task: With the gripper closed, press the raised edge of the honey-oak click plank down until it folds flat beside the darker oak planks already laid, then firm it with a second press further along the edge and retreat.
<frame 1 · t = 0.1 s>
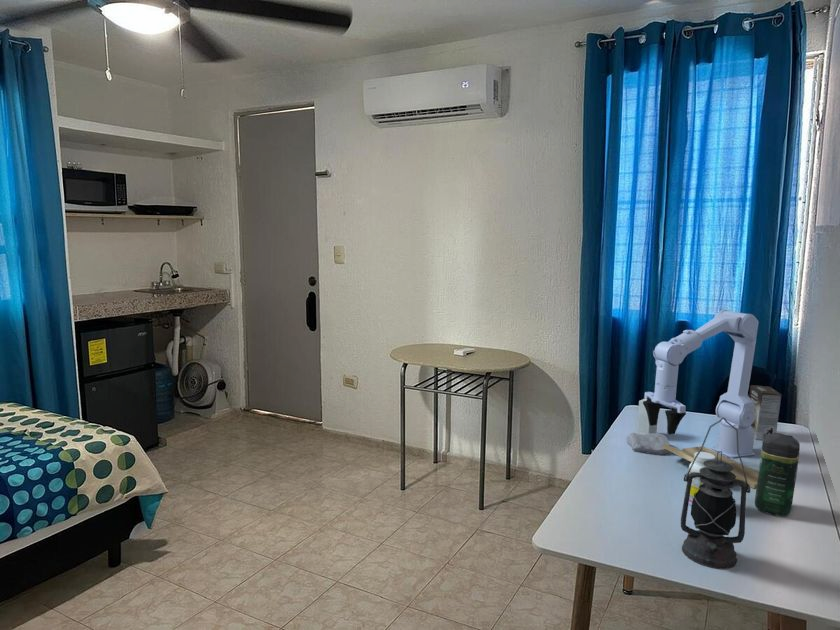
hand: (661, 429, 173), 10 cm above the table, tool pointing down, fingers open, 7 cm apart
click plank: (701, 463, 169), point 2 cm above the table, hinge at 22.0°
coffee box: (759, 436, 200), on the table
skincare box: (646, 436, 197), on the table
coffee jar: (772, 509, 148), on the table
laid floor row: (726, 467, 172), on the table
lantern: (708, 555, 126), on the table
stone block: (649, 450, 185), on the table
supplement bottle: (700, 504, 149), on the table
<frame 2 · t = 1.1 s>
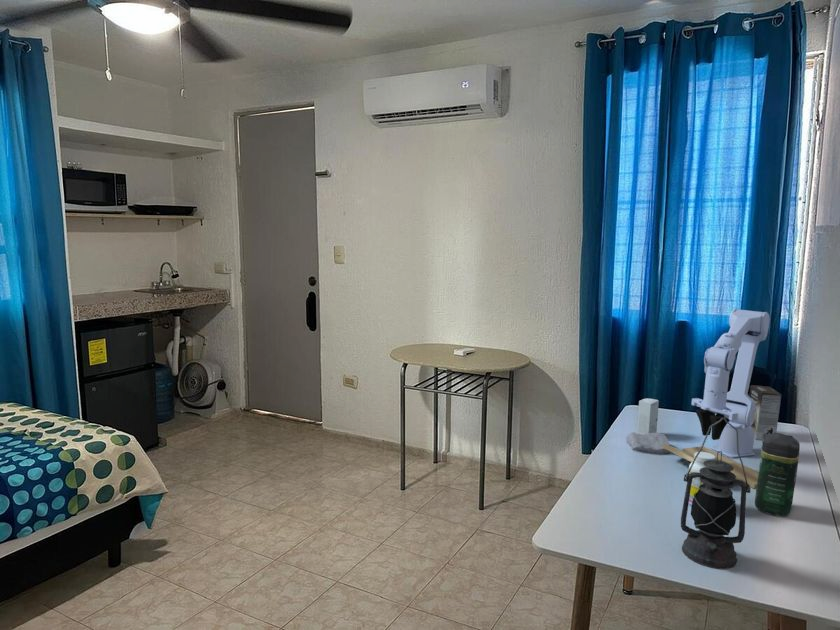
hand: (710, 437, 168), 10 cm above the table, tool pointing down, fingers open, 3 cm apart
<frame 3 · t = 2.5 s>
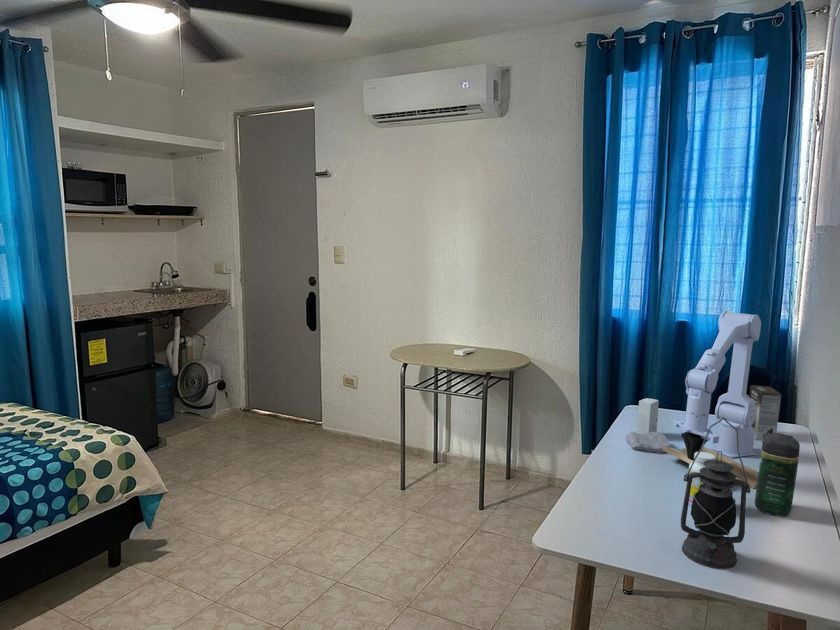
hand: (692, 459, 167), 4 cm above the table, tool pointing down, fingers closed, pressing on click plank
click plank: (700, 464, 169), point 2 cm above the table, hinge at 18.1°, touching gripper
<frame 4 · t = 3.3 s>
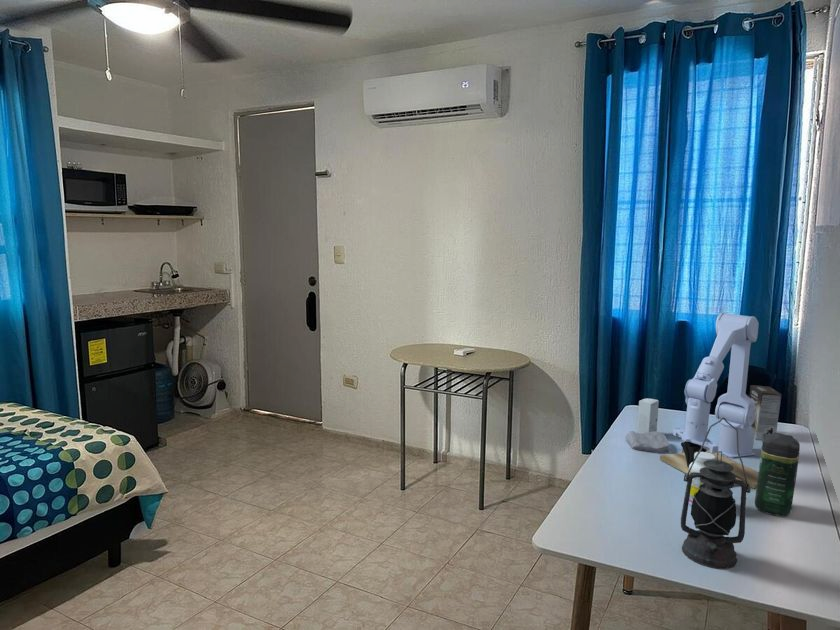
hand: (692, 468, 168), 1 cm above the table, tool pointing down, fingers closed, pressing on click plank
click plank: (699, 469, 169), point 1 cm above the table, hinge at 1.3°, touching gripper
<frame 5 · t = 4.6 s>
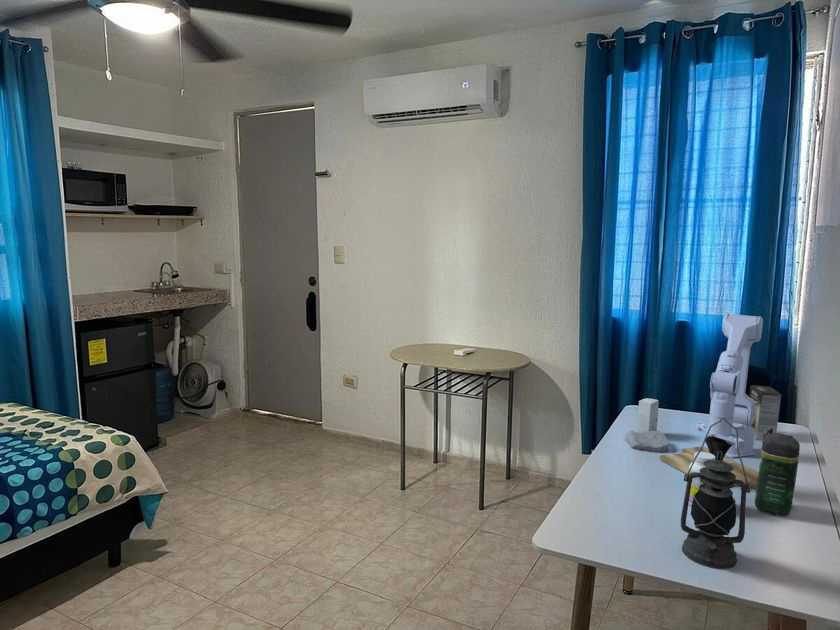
hand: (716, 464, 161), 5 cm above the table, tool pointing down, fingers closed
click plank: (699, 469, 169), point 1 cm above the table, hinge at 1.2°
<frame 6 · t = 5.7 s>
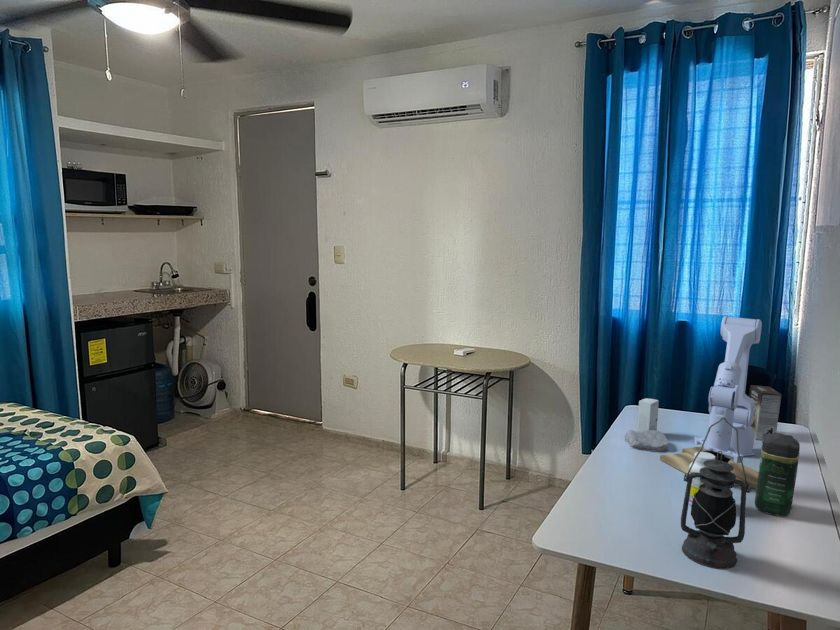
hand: (714, 478, 162), 1 cm above the table, tool pointing down, fingers closed, pressing on click plank
click plank: (699, 469, 169), point 1 cm above the table, hinge at 1.2°, touching gripper
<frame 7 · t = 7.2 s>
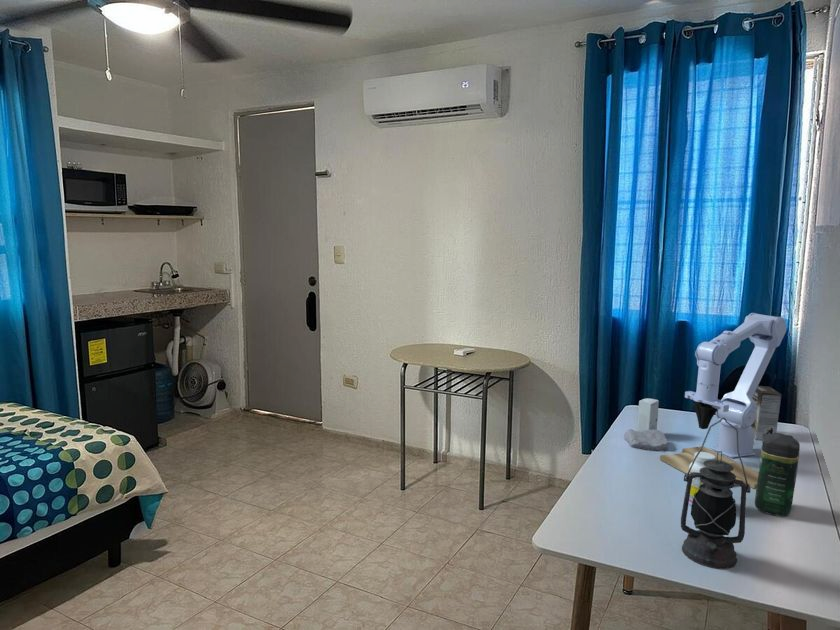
hand: (703, 428, 176), 10 cm above the table, tool pointing down, fingers closed
click plank: (699, 469, 169), point 1 cm above the table, hinge at 1.2°
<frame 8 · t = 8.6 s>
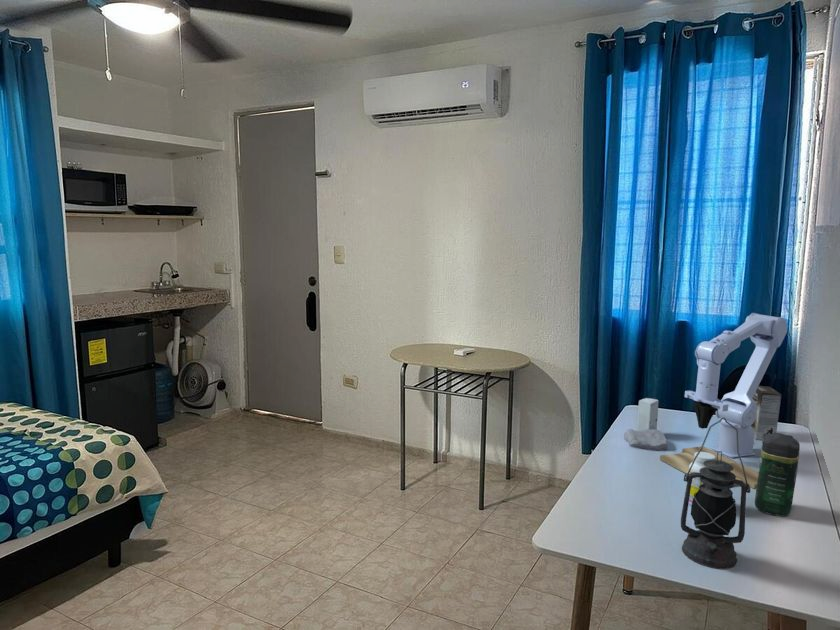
hand: (702, 427, 176), 10 cm above the table, tool pointing down, fingers closed
at the end: click plank at +1° (first picture: +22°) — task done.
